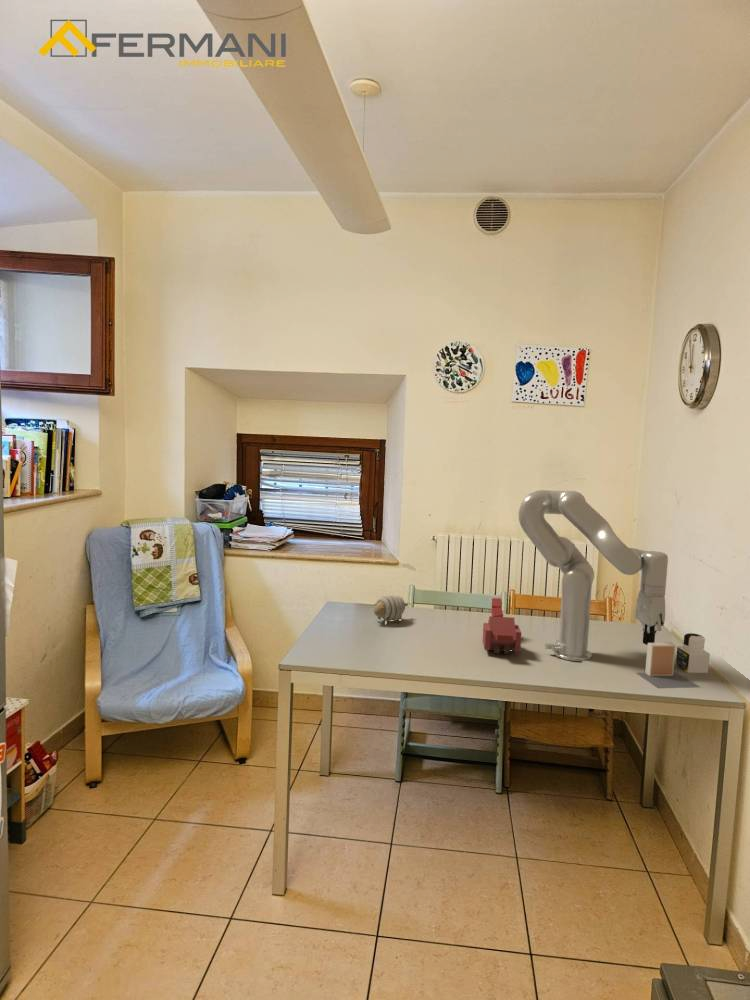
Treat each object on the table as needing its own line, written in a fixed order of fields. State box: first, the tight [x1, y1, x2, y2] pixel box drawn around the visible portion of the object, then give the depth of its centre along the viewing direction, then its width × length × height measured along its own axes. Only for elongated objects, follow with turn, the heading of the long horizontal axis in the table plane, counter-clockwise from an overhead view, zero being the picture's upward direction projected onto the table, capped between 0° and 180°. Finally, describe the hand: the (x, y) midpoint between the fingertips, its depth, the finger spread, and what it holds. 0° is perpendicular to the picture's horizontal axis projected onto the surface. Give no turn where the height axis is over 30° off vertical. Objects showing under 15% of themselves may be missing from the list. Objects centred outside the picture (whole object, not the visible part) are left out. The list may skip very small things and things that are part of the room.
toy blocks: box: [481, 597, 522, 655], centre depth 222 cm, size 12×20×25 cm
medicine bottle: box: [675, 632, 711, 674], centre depth 205 cm, size 7×7×12 cm
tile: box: [644, 641, 677, 676], centre depth 199 cm, size 8×3×10 cm, turn 98°
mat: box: [636, 671, 701, 689], centre depth 195 cm, size 14×12×1 cm
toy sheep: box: [373, 593, 409, 622], centre depth 247 cm, size 11×17×11 cm, turn 135°
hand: (648, 643), depth 206 cm, fingers closed
